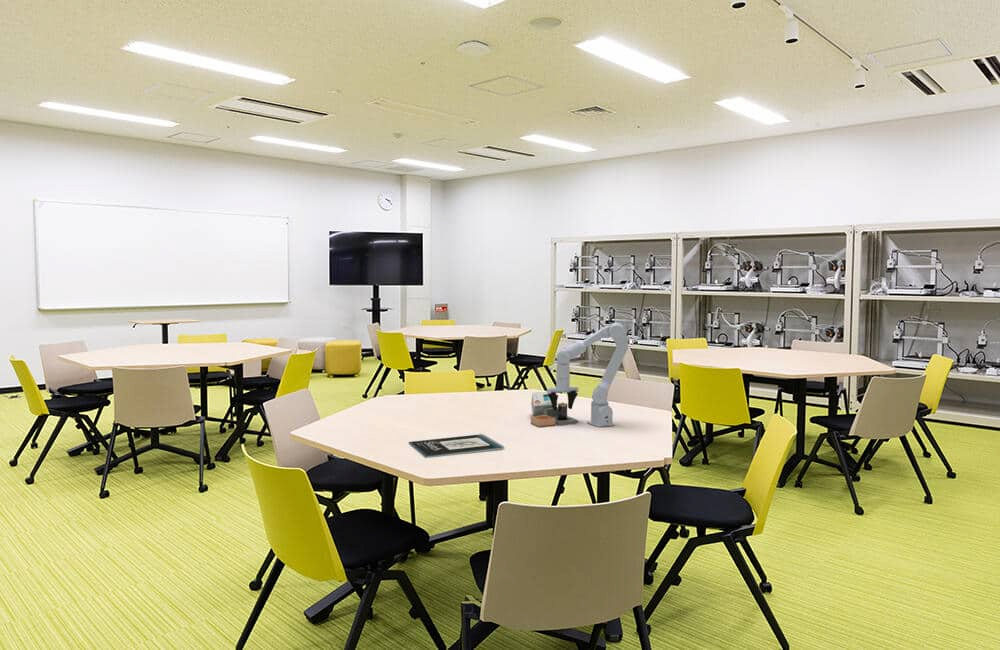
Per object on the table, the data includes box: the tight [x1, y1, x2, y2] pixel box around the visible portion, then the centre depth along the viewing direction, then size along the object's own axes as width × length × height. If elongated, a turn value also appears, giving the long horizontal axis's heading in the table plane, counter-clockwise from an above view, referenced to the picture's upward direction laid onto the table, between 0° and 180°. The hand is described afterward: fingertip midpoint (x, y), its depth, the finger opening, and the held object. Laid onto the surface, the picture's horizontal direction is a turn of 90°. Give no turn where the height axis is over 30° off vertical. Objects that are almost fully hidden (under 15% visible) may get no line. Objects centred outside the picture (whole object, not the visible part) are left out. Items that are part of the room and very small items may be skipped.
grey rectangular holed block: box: [542, 406, 579, 426], centre depth 292 cm, size 13×10×5 cm
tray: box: [530, 415, 556, 428], centre depth 286 cm, size 8×8×3 cm
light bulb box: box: [530, 391, 552, 417], centre depth 301 cm, size 11×7×11 cm
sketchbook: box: [408, 433, 505, 459], centre depth 248 cm, size 22×30×2 cm
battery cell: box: [557, 402, 568, 421], centre depth 291 cm, size 4×4×8 cm
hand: (562, 409), depth 290 cm, fingers open, 7 cm apart
